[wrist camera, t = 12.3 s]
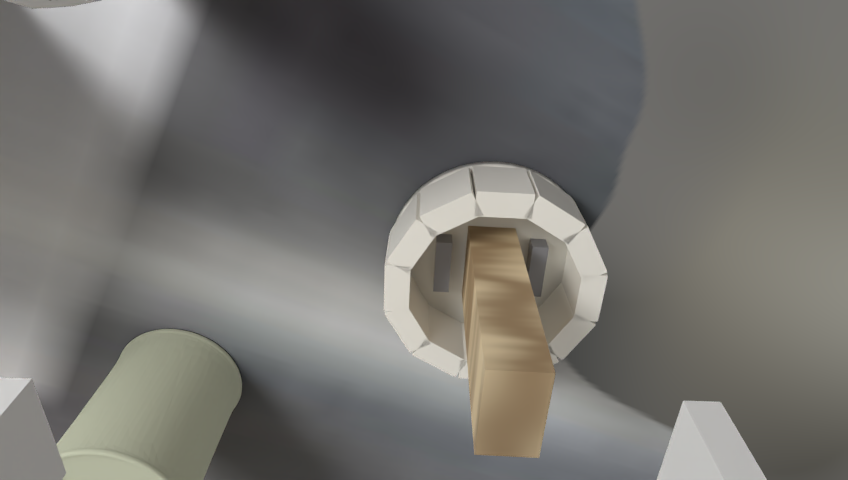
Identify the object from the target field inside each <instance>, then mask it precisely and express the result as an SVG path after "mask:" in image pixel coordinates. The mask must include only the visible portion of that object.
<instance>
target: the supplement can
mask: <svg viewBox="0 0 848 480" xmlns="http://www.w3.org/2000/svg"><path fill="white" fill-rule="evenodd" d="M4 1H7V2H11V3H14V4H17V5H21V6H24V7H28V8H31V9H37V8H52V7H67V6H76V5H81V4H86V3H90V2H95V1H100V0H4Z"/></svg>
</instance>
